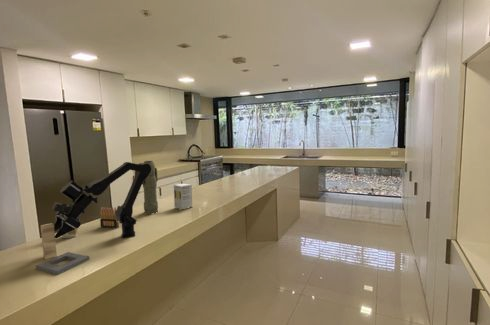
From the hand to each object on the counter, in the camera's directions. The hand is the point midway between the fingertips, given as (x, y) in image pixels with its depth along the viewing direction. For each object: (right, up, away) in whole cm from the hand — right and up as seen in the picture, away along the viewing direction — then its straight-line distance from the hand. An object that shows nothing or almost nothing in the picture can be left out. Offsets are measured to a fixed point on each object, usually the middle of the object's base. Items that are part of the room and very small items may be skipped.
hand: (52, 235), depth 117 cm
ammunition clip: (+6, -6, +37) cm, 38 cm away
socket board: (+10, -10, -8) cm, 16 cm away
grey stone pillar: (+20, -2, +67) cm, 70 cm away
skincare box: (-8, -7, +24) cm, 26 cm away
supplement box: (+39, -1, +77) cm, 86 cm away
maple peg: (-1, -9, 0) cm, 9 cm away
